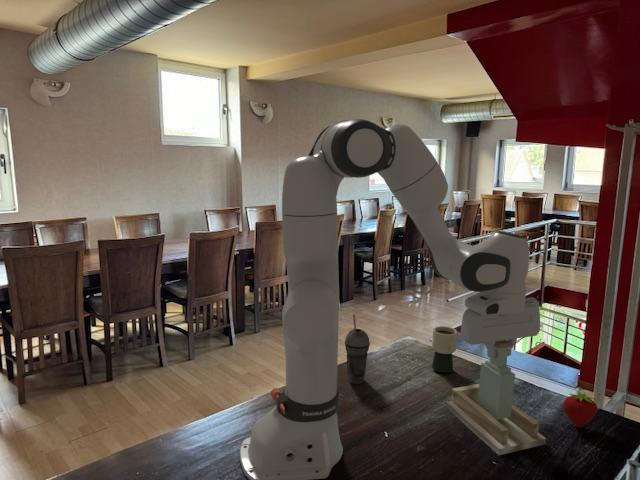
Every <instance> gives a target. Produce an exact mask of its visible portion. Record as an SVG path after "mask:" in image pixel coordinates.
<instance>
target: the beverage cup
mask: <svg viewBox="0 0 640 480" xmlns="http://www.w3.org/2000/svg"><path fill="white" fill-rule="evenodd" d="M352 317H353V319H352V320H353V327H354V328H353V329H351V330H349V332H348V333H347V334H346V336H345V341H344V346H345V351H346V363H347V364H346V366H347V378H348V379H347V381H348V380H349V383H350V384H354V385H360V384H363V383H364V381H365V376H366V368H367V359H368V352H369V349H370V346H371V343H370V339H369V335H368V334H367V332H366V331H365V330H363V329H362V328H361V329H360V328H357V325H356V315H355V314H353V316H352Z"/></svg>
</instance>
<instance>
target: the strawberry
mask: <svg viewBox="0 0 640 480" xmlns="http://www.w3.org/2000/svg"><path fill="white" fill-rule="evenodd" d="M581 389H582V391H583V393H584V394H583V393H582V392H581V391H579V390H578V391H577V394H574V393H573V394H572V393H569V394H568V395H569V396H568V397H566V398H564V401H563V409H564V413H565V414H566V416H567V417H568V419H569V420H570V421H571V422H572V423H573V425H574V426H575V427H576V428H582V427H584V426H586V424H589V422H590V421H592V420H593V419H594V418H595V416H596V414H597V413H598V405H597V404H596V402H595V401H594V400H595V398H594V397H591V396H588V395H587V394H586V393H585V391H584V388H581Z"/></svg>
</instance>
